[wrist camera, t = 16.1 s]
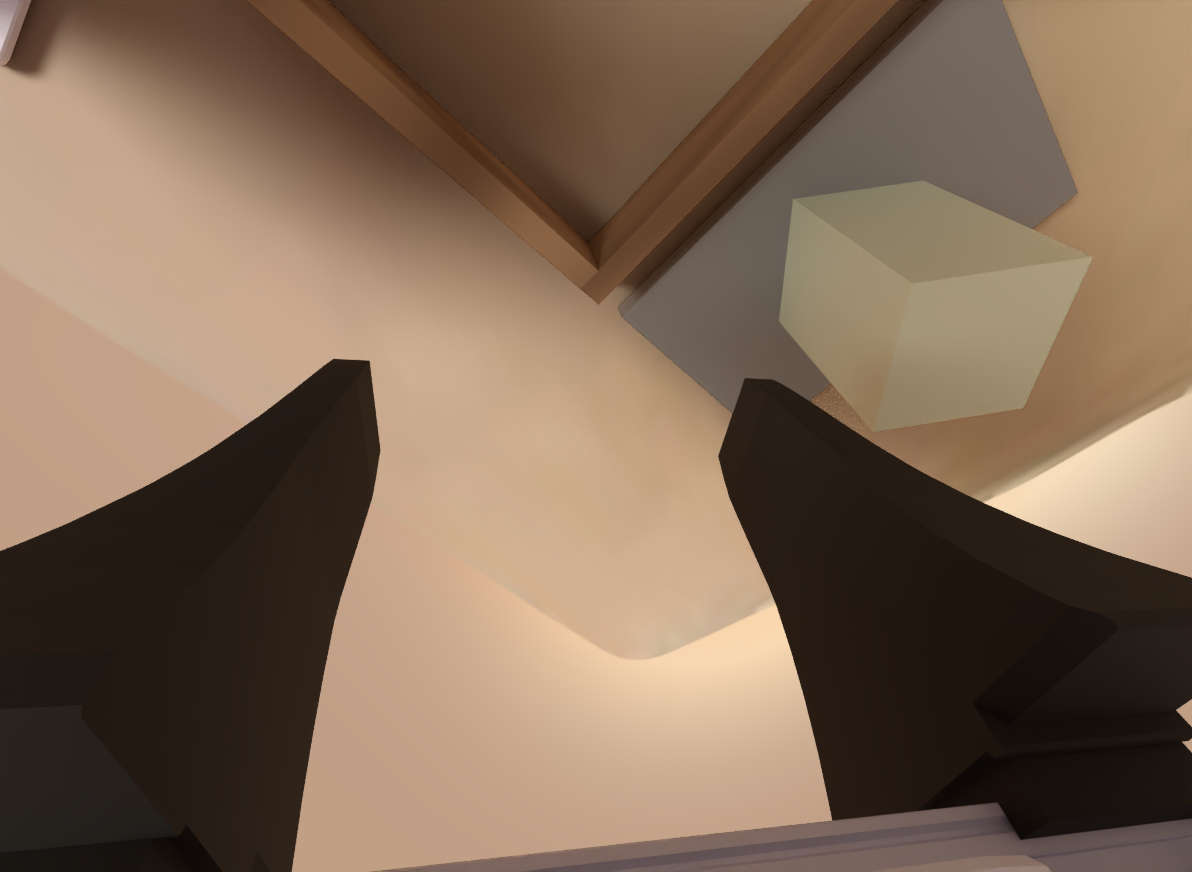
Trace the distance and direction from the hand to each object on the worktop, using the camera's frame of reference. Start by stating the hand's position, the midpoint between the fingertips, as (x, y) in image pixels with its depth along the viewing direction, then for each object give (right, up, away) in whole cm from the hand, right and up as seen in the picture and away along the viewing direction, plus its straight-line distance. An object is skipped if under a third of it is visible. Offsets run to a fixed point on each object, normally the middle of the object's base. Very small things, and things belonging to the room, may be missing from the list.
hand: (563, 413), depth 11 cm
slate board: (+10, +7, +10) cm, 15 cm away
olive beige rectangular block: (+10, +6, +9) cm, 15 cm away
